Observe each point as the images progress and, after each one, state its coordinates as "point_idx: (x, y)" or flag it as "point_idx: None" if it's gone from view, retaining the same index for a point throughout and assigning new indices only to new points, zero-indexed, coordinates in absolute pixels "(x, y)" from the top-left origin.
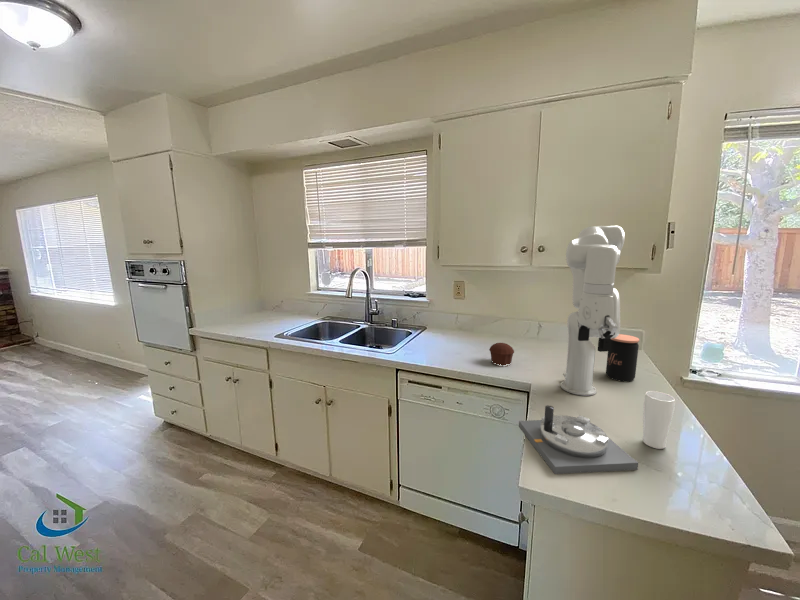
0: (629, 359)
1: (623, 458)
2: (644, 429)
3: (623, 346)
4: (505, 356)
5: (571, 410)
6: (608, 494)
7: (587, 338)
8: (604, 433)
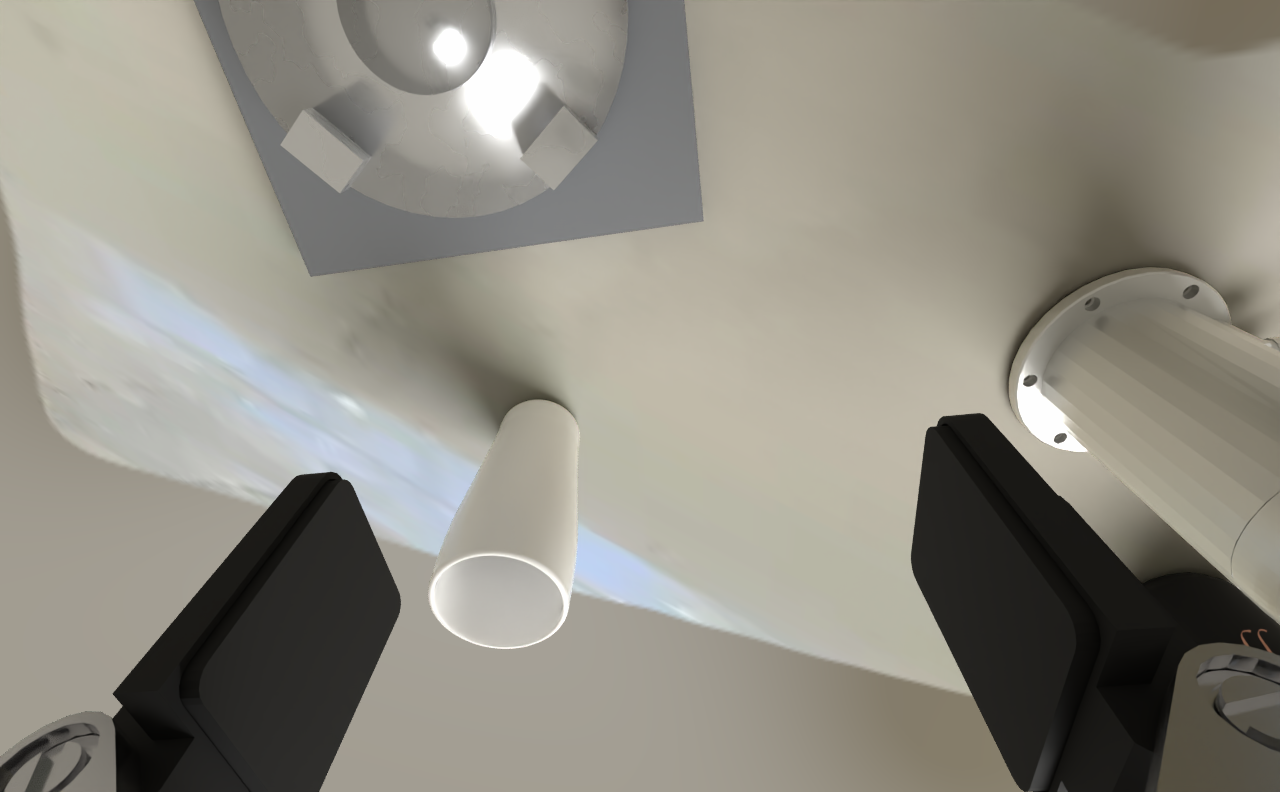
0: None
1: (323, 225)
2: (533, 429)
3: None
4: None
5: (857, 202)
6: (74, 27)
7: (929, 578)
8: (434, 210)
